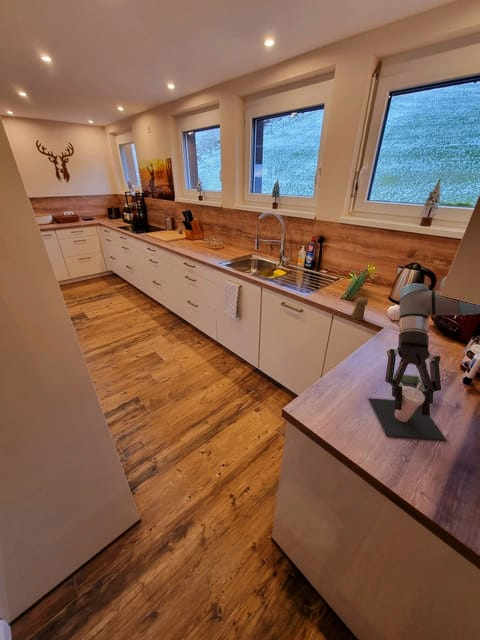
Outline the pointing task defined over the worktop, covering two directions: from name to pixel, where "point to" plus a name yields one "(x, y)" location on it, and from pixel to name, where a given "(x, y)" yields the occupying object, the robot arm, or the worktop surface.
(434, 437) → the mat
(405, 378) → the holder
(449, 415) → the worktop surface
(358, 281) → the daffodil flowers
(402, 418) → the smoothie
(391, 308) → the geometric ball
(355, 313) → the brown tapered tower
